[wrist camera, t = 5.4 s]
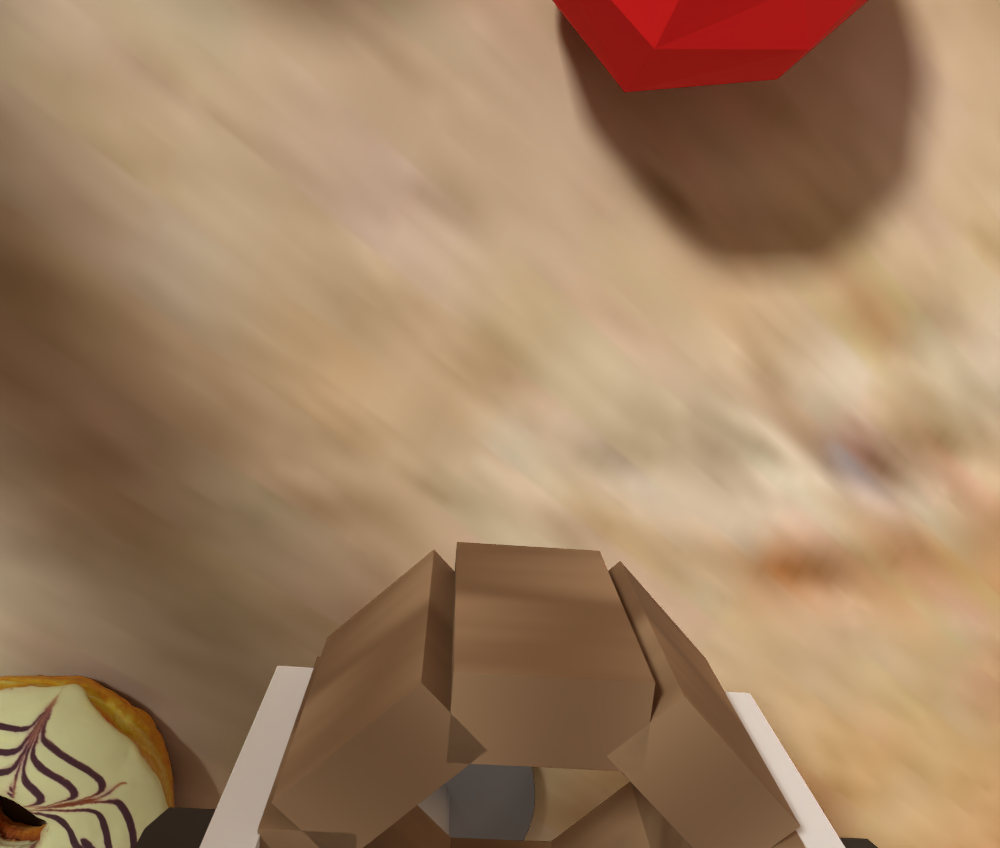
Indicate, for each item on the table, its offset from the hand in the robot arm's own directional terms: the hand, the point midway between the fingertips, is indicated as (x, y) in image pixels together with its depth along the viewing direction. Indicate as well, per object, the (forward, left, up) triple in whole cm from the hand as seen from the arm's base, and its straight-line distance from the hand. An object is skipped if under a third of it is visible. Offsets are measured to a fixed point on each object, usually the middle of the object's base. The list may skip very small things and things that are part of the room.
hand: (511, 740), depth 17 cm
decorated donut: (+4, -19, -14) cm, 24 cm away
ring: (0, 0, 0) cm, 0 cm away
